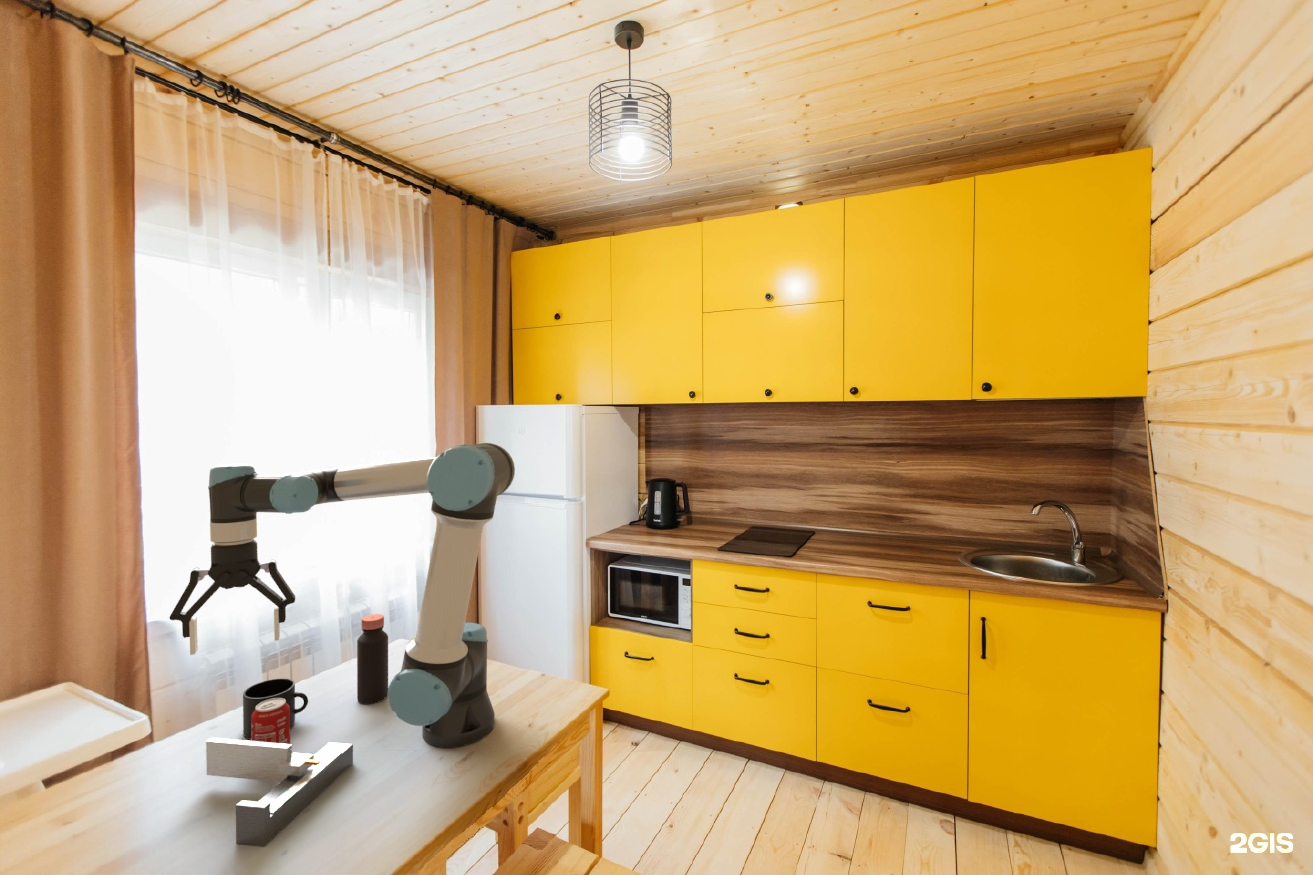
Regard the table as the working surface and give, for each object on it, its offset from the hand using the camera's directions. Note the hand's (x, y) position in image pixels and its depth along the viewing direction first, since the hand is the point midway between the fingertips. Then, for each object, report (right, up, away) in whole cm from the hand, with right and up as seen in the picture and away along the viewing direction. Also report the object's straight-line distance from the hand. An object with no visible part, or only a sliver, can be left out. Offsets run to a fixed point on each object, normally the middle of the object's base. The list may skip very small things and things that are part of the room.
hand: (236, 645), depth 114 cm
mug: (+1, -22, +11) cm, 25 cm away
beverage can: (+8, -23, -2) cm, 25 cm away
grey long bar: (+21, -23, -13) cm, 34 cm away
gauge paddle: (+13, -21, -10) cm, 26 cm away
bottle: (+15, -22, +24) cm, 36 cm away
